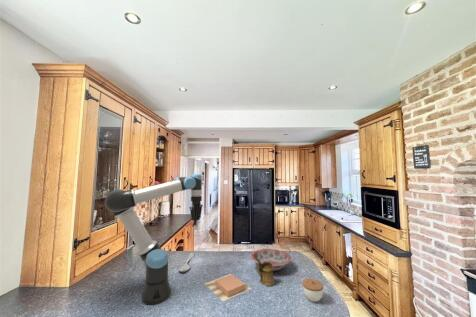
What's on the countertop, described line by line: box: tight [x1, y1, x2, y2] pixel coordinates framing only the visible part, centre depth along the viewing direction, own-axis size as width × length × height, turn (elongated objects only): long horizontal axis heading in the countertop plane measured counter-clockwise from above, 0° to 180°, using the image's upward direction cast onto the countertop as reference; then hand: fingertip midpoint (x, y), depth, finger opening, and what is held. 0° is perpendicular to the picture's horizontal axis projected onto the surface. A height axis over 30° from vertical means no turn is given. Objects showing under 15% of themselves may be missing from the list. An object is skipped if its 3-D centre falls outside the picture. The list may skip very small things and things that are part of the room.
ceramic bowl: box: [250, 248, 292, 272], centre depth 143 cm, size 29×29×8 cm
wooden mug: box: [253, 254, 275, 287], centre depth 123 cm, size 9×14×18 cm, turn 97°
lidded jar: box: [301, 278, 324, 303], centre depth 106 cm, size 11×11×9 cm
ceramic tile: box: [214, 273, 246, 297], centre depth 115 cm, size 3×12×14 cm
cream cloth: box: [204, 273, 253, 302], centre depth 117 cm, size 22×20×1 cm
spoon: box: [177, 252, 194, 273], centre depth 151 cm, size 35×8×3 cm, turn 2°
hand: (196, 229), depth 137 cm, fingers closed
